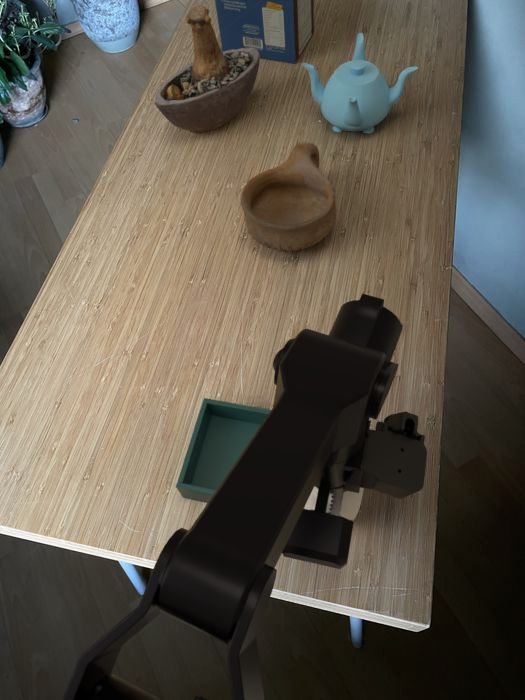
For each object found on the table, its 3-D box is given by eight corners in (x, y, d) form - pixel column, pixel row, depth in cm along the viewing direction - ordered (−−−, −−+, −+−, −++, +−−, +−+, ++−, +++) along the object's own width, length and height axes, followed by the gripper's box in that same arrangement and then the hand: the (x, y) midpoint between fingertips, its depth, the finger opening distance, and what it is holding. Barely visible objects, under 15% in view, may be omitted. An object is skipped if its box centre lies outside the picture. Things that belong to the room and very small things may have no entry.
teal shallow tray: (276, 517, 67) (274, 507, 63) (182, 497, 69) (175, 486, 65) (296, 427, 72) (295, 414, 69) (209, 411, 74) (203, 397, 71)
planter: (163, 149, 100) (130, 35, 83) (186, 87, 109) (162, -29, 92) (248, 154, 98) (233, 37, 81) (265, 90, 106) (255, -28, 89)
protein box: (241, 21, 118) (232, -65, 105) (314, 32, 114) (314, -56, 101) (220, 52, 113) (207, -35, 100) (296, 64, 109) (292, -24, 96)
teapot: (301, 116, 102) (299, 62, 93) (361, 84, 105) (364, 28, 96) (349, 155, 96) (351, 101, 87) (411, 120, 99) (419, 64, 90)
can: (312, 537, 65) (310, 505, 55) (296, 482, 69) (292, 443, 58) (368, 522, 66) (377, 488, 55) (349, 468, 69) (355, 426, 59)
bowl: (242, 170, 94) (253, 119, 85) (327, 189, 96) (346, 140, 87) (229, 257, 85) (240, 208, 76) (323, 276, 87) (344, 230, 78)
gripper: (415, 565, 44) (394, 596, 57) (438, 353, 53) (415, 422, 66) (270, 533, 46) (282, 570, 60) (315, 334, 55) (317, 405, 69)
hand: (329, 487), depth 63 cm, fingers open, 8 cm apart
